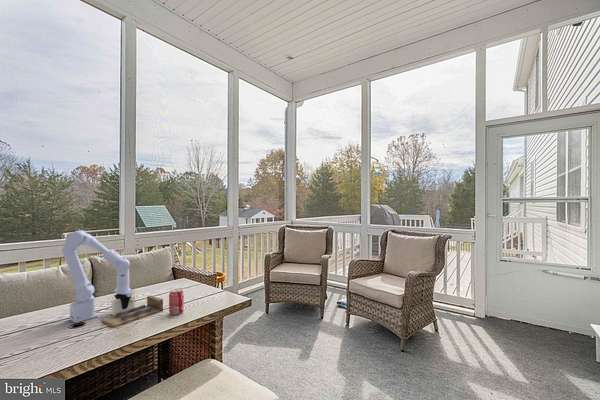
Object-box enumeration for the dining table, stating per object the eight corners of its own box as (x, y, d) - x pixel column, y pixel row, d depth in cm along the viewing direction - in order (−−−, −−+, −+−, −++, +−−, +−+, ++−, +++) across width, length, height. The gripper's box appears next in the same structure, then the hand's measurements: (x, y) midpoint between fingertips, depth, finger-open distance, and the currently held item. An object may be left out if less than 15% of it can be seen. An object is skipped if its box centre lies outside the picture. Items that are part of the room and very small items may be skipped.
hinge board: (113, 327, 129) (113, 314, 129) (101, 321, 135) (101, 309, 135) (162, 310, 149) (162, 299, 149) (150, 306, 155) (150, 295, 155)
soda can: (180, 309, 151) (180, 287, 151) (185, 313, 146) (185, 290, 146) (167, 313, 146) (167, 290, 146) (172, 316, 141) (172, 293, 141)
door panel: (115, 315, 142) (115, 302, 142) (111, 314, 145) (111, 300, 145) (135, 309, 151) (135, 296, 151) (131, 308, 153) (131, 295, 153)
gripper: (138, 282, 148) (138, 308, 147) (124, 278, 155) (124, 303, 155) (123, 286, 142) (123, 312, 142) (110, 281, 149) (110, 307, 149)
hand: (123, 307), depth 148 cm, fingers closed on door panel, 3 cm apart
